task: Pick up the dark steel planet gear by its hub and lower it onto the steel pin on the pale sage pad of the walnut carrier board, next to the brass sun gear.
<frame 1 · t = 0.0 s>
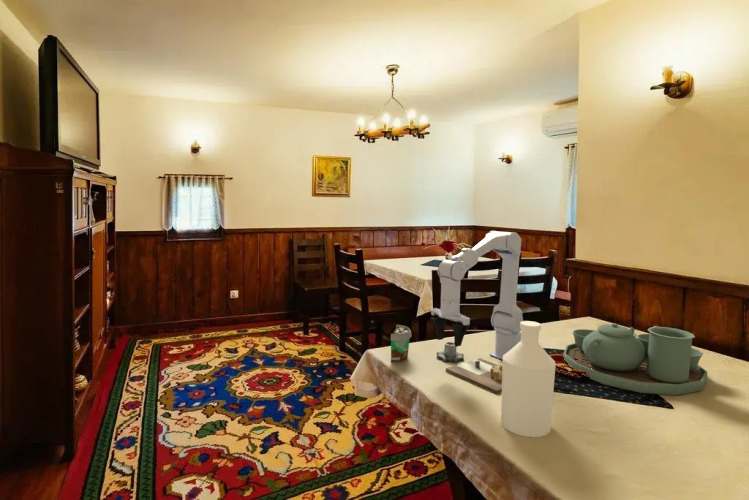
hand: (449, 342, 135), 10 cm above the table, tool pointing down, fingers open, 7 cm apart
bottle: (525, 425, 105), on the table
tea set: (628, 370, 142), on the table
food container: (402, 358, 150), on the table
planet gear: (450, 357, 151), on the table
carrier board: (487, 375, 135), on the table
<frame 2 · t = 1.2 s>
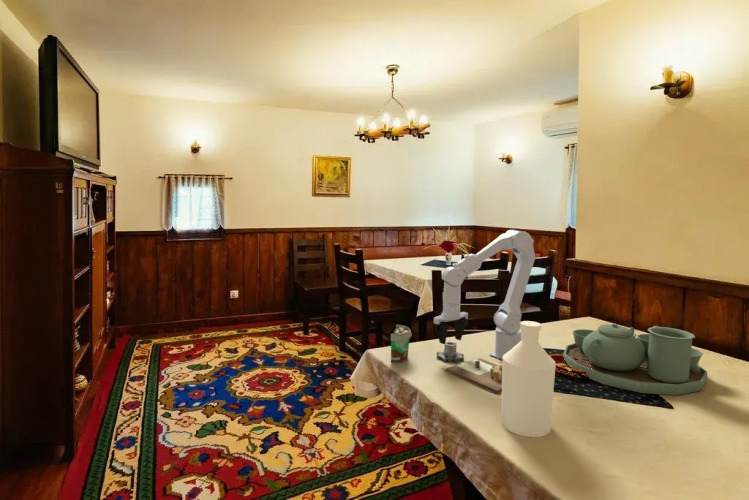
hand: (450, 341, 150), 6 cm above the table, tool pointing down, fingers open, 7 cm apart
nothing on the table moved.
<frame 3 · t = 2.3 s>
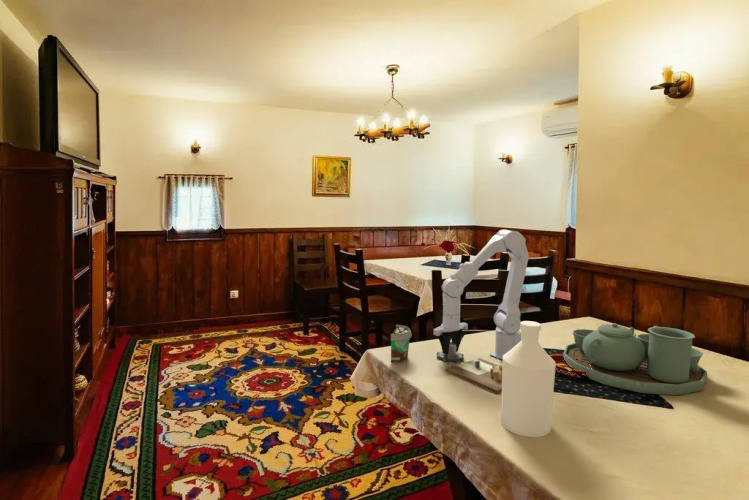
hand: (450, 352, 150), 2 cm above the table, tool pointing down, fingers closed on planet gear, 4 cm apart
planet gear: (450, 357, 151), on the table, touching gripper
everything else where it was.
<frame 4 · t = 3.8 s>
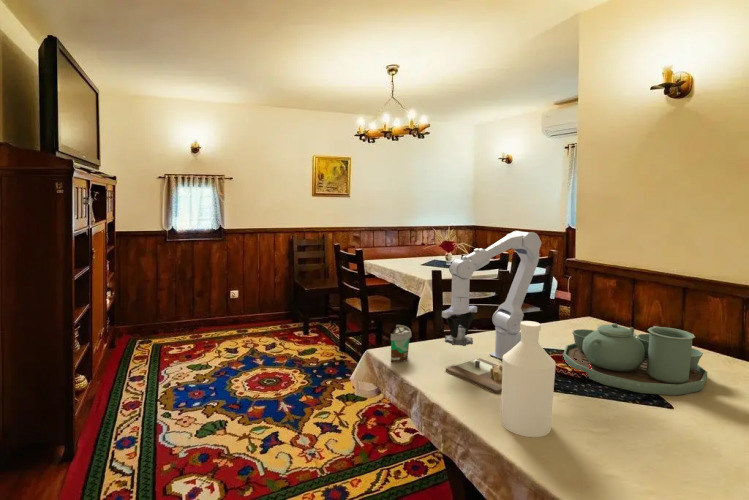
hand: (459, 335, 146), 9 cm above the table, tool pointing down, fingers closed on planet gear, 4 cm apart
planet gear: (458, 341, 146), point 7 cm above the table, touching gripper
everything else where it was.
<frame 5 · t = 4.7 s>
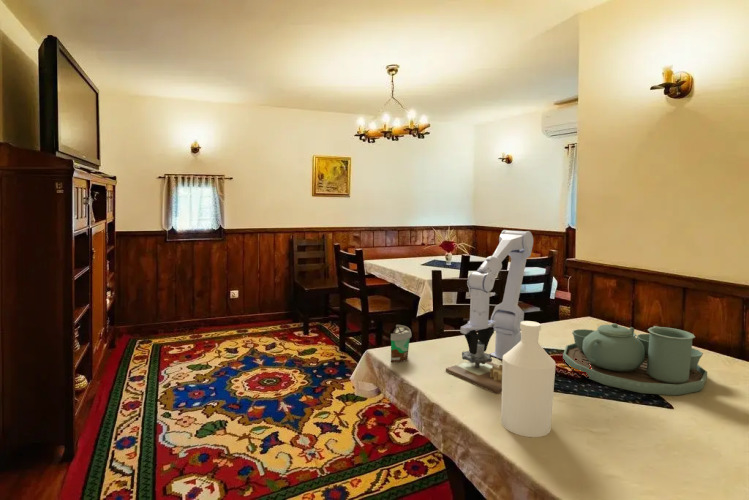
hand: (477, 352, 139), 6 cm above the table, tool pointing down, fingers closed on planet gear, 4 cm apart
planet gear: (476, 358, 139), point 4 cm above the table, touching gripper
everything else where it was.
when the fingers open (4 cm above the table, at t = 5.6 s): planet gear stays where it is, resting on carrier board.
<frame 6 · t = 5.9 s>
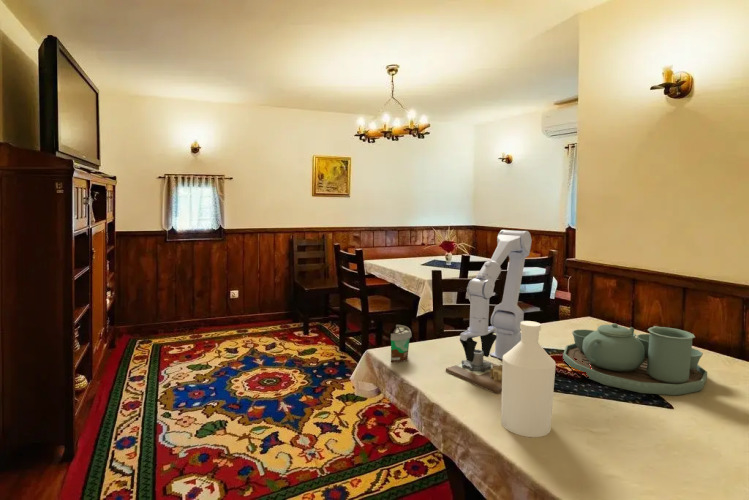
hand: (477, 358, 139), 4 cm above the table, tool pointing down, fingers open, 7 cm apart
planet gear: (476, 366, 140), point 1 cm above the table, touching carrier board
everything else where it was.
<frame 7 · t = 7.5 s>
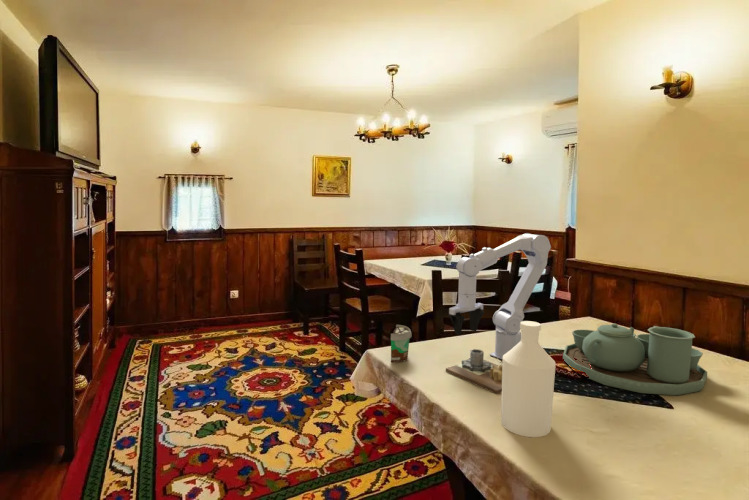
hand: (465, 332, 148), 9 cm above the table, tool pointing down, fingers open, 7 cm apart
nothing on the table moved.
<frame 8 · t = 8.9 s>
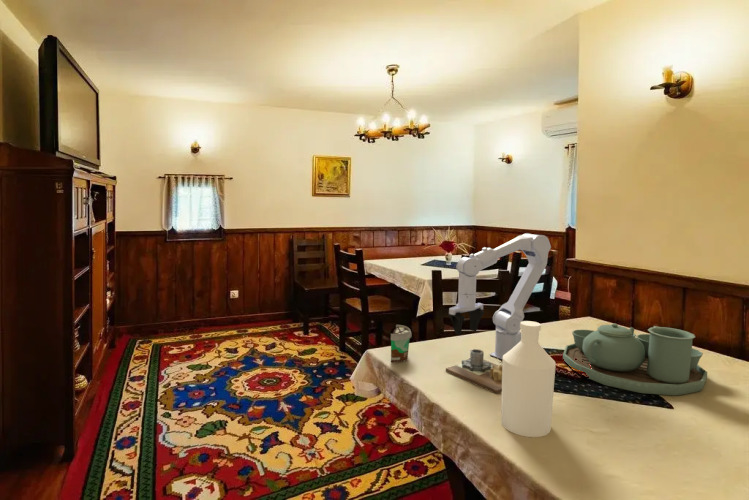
hand: (465, 332, 148), 9 cm above the table, tool pointing down, fingers open, 7 cm apart
nothing on the table moved.
at the end: planet gear 0.4 cm from the target spot on the carrier board, point 1.1 cm above the carrier board's base; planet gear tilted 0°; the gripper is holding nothing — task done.
